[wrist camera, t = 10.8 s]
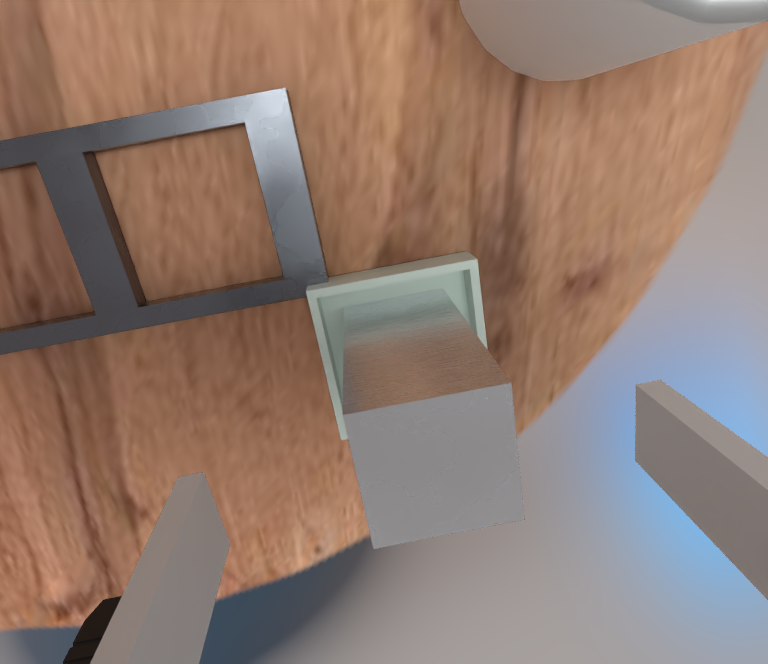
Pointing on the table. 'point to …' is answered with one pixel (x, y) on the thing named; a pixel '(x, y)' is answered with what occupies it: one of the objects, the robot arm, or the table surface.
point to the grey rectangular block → (427, 421)
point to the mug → (598, 31)
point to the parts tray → (384, 283)
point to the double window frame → (104, 237)
